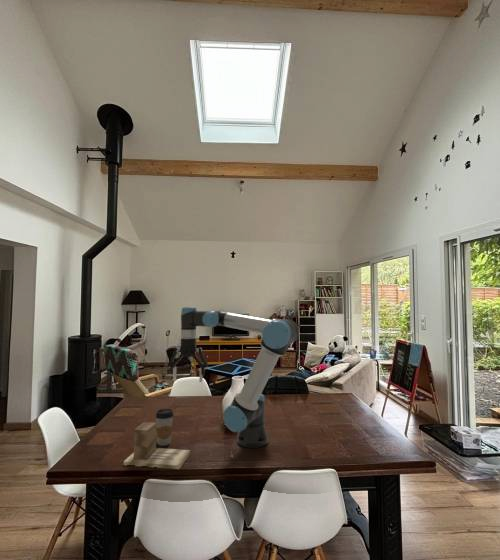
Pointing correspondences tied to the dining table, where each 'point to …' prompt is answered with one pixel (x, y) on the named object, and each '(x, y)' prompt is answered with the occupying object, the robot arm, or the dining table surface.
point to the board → (161, 459)
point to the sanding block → (145, 440)
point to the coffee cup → (164, 426)
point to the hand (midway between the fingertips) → (187, 381)
